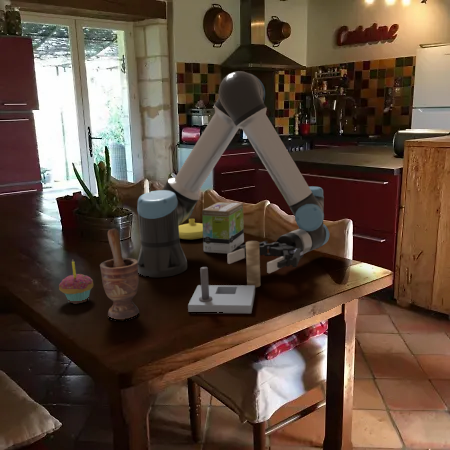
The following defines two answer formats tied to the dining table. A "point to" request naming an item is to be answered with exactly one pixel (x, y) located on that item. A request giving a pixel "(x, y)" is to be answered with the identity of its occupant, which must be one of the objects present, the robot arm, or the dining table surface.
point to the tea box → (222, 227)
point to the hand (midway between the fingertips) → (247, 263)
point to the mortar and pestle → (120, 280)
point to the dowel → (253, 263)
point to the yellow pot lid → (191, 230)
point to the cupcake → (76, 286)
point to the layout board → (221, 297)
